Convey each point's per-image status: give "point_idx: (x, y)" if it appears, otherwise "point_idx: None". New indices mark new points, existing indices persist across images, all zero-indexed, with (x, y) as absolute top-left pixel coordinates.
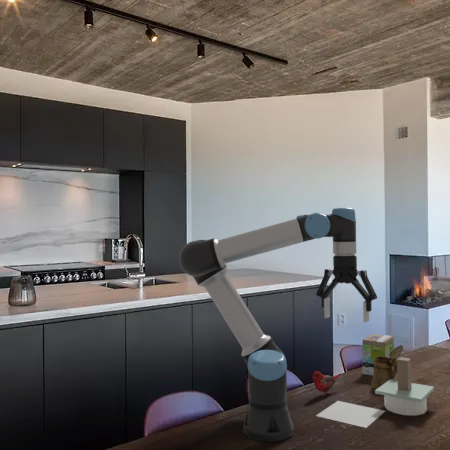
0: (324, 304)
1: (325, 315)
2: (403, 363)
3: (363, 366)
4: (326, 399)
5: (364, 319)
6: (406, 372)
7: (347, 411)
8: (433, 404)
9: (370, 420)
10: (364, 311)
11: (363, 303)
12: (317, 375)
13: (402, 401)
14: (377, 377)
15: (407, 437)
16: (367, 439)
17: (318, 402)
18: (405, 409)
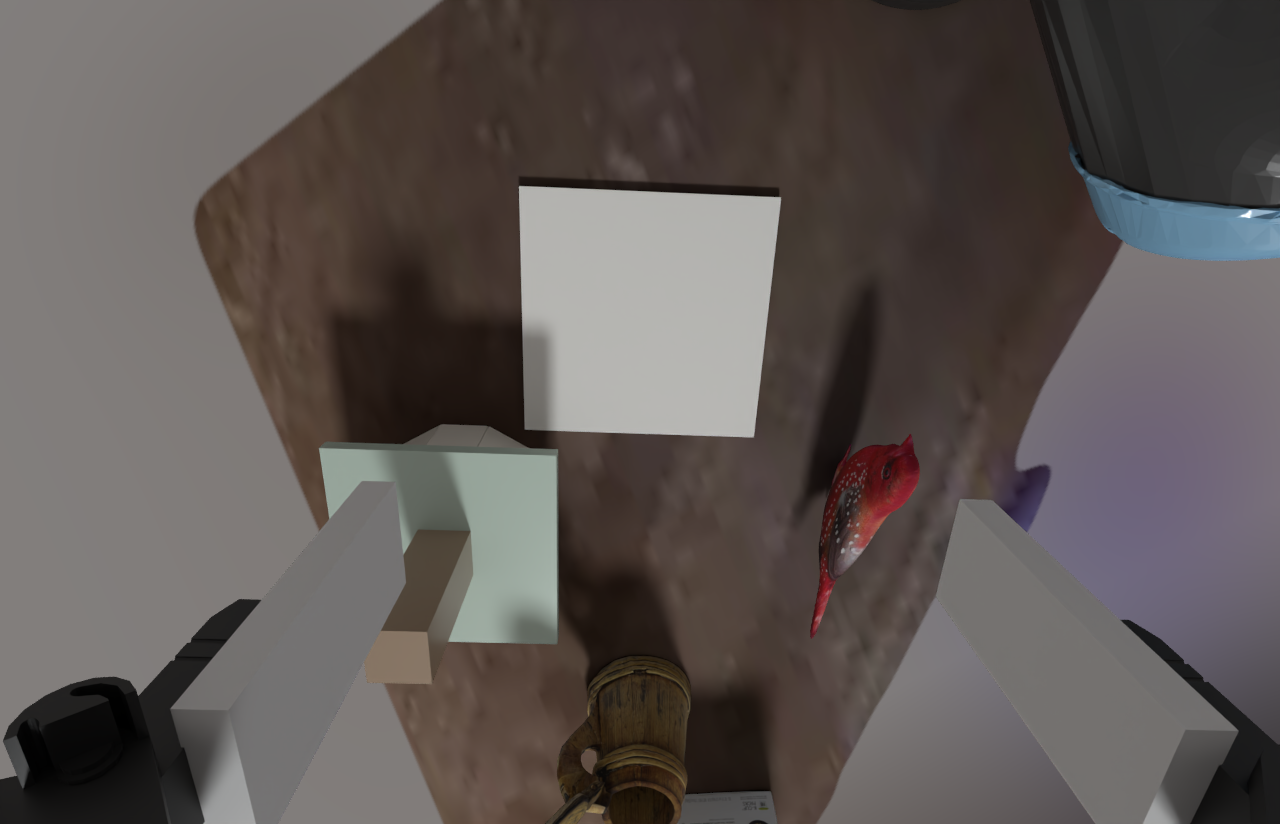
0: (1126, 632)
1: (994, 519)
2: (393, 617)
3: (772, 822)
4: (812, 440)
5: (365, 498)
6: None
7: (666, 333)
8: None
9: (536, 285)
10: (310, 572)
11: (246, 678)
12: (890, 467)
13: None
14: (655, 702)
15: (338, 202)
16: (470, 72)
17: (833, 385)
18: (428, 439)
